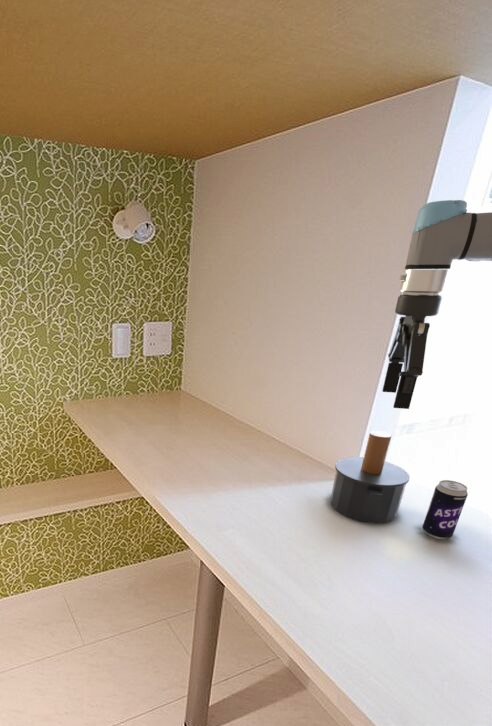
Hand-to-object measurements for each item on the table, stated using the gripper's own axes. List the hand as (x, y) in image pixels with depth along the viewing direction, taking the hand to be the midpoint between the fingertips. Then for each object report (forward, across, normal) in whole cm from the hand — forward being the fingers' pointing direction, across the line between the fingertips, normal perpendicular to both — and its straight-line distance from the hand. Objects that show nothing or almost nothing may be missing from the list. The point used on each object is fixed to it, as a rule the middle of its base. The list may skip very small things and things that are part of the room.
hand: (394, 399), depth 94 cm
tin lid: (+18, 0, -1) cm, 18 cm away
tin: (+27, 0, -1) cm, 27 cm away
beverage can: (+27, +8, +13) cm, 31 cm away
